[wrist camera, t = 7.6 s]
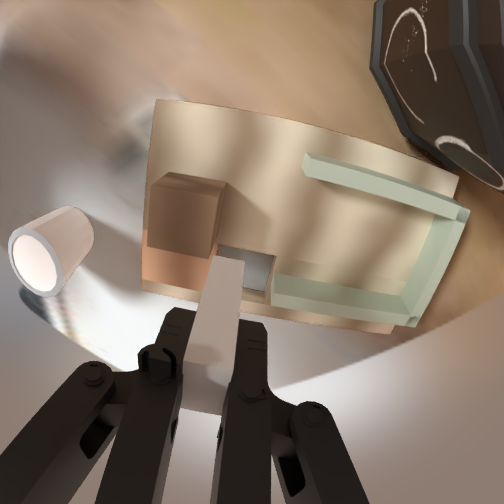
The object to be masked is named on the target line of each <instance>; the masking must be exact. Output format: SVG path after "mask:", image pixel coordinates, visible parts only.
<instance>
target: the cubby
mask: <svg viewBox="0 0 504 504" xmlns="http://www.w3.org/2000/svg"><path fill="white" fill-rule="evenodd" d="M302 169H303V171H304V173H305V175H306V176H308V177H312V178H316V179H320V180H324V181H328V182H332V183H336V184H339V185H343V186H347V187H351V188H354V189H358V190H361V191H365V192H368V193H372V194H375V195H379V196H382V197H386V198H389V199H392V200H395V201H399V202H402V203H405V204H408V205H411V206H414V207H418V208H421V209H424V210H427V211H430V212H433V213H435V217H434V219H433V222H432V224H431V227H430V230H429V232H428V235H427V237H426V239H425V242H424V244H423V247H422V249H421V251H420V254H419V256H418V258H417V261H416V263H415V265H414V267H413V270H412V272H411V274H410V276H409V278H408V280H407V282H406V285H405V287H404V289H403V291H402V293H401V295H400V296H396V295H390V294H385V293H379V292H374V291H368V290H363V289H357V288H352V287H346V286H341V285H336V284H330V283H325V282H320V281H314V280H309V279H304V278H299V277H293V276H288V275H283V274H278V273H274V275H273V278H272V282H271V306H277V307H283V308H288V309H294V310H300V311H306V312H312V313H318V314H324V315H330V316H337V317H343V318H350V319H356V320H363V321H370V322H377V323H385V324H392V325H400V326H408V327H416V325H417V323H418V321H419V320H420V318H421V316H422V314H423V313H424V311H425V309H426V307H427V305H428V303H429V302H430V300H431V298H432V296H433V294H434V292H435V290H436V288H437V286H438V284H439V282H440V280H441V278H442V276H443V274H444V272H445V270H446V268H447V266H448V264H449V261H450V259H451V257H452V255H453V253H454V250H455V248H456V246H457V243H458V241H459V239H460V236H461V234H462V231H463V229H464V226H465V224H466V221H467V219H468V216H469V214H470V211H471V210H469V209H468V208H466V207H465V206H463V205H462V204H460V203H459V202H457V201H456V200H454V199H453V198H451V197H448V196H445V195H443V194H440V193H438V192H435V191H432V190H430V189H427V188H424V187H421V186H419V185H416V184H413V183H410V182H407V181H404V180H401V179H398V178H395V177H392V176H389V175H386V174H383V173H380V172H377V171H374V170H370V169H367V168H364V167H360V166H357V165H354V164H350V163H347V162H343V161H339V160H336V159H332V158H328V157H325V156H321V155H317V154H313V153H309V152H305V155H304V160H303V164H302Z"/></svg>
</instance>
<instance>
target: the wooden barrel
mask: <svg viewBox="0 0 504 504" xmlns="http://www.w3.org/2000/svg"><path fill="white" fill-rule="evenodd" d="M369 69H370V71H371V72H372V74H373V76H374V78H375V80H376V82H377V84H378V86H379V88H380V90H381V92H382V94H383V96H384V98H385V100H386V102H387V104H388V106H389V108H390V110H391V112H392V114H393V117H394V119H395V121H396V123H397V126H398V128H399V130H400V132H401V133H402V135H404V136H405V137H407V138H408V139H410V140H411V141H413V142H414V143H416V144H417V145H419V146H420V147H421V148H423V149H424V150H426V151H427V152H428V153H430V154H431V155H433V156H434V157H435V158H437V159H438V160H439V161H441V162H442V163H443V164H445V165H446V166H447V167H449V168H450V169H451V170H452V171H453V170H462V169H463V170H464V171H466V172H467V173H469V174H470V175H471V176H473V177H474V178H476V179H477V180H478V181H480V182H482V183H484V184H486V185H488V186H490V187H492V188H494V189H496V190H497V191H499V192H501V193H503V194H504V0H377V1H376V2H375V3H374V10H373V28H372V43H371V55H370V66H369Z"/></svg>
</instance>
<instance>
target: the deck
mask: <svg viewBox="0 0 504 504" xmlns="http://www.w3.org/2000/svg"><path fill="white" fill-rule="evenodd" d="M305 152H309V153H313V154H317V155H321V156H325V157H328V158H332V159H336V160H339V161H343V162H347V163H350V164H354V165H357V166H360V167H364V168H367V169H370V170H374V171H377V172H380V173H383V174H386V175H389V176H392V177H395V178H398V179H401V180H404V181H407V182H410V183H413V184H416V185H419V186H421V187H424V188H427V189H430V190H432V191H435V192H438V193H440V194H443V195H445V196H448V197H451V198H453V195H454V192H455V189H456V186H457V183H458V180H459V176H457V175H455V174H453V173H451V172H449V171H446V170H444V169H442V168H439V167H437V166H435V165H432V164H430V163H427V162H425V161H422V160H420V159H417V158H414V157H412V156H409V155H406V154H404V153H401V152H398V151H396V150H393V149H390V148H387V147H384V146H381V145H378V144H375V143H372V142H369V141H366V140H363V139H360V138H356V137H353V136H350V135H347V134H343V133H340V132H336V131H333V130H329V129H325V128H322V127H318V126H314V125H310V124H306V123H302V122H298V121H294V120H290V119H285V118H281V117H276V116H271V115H267V114H262V113H257V112H251V111H246V110H240V109H235V108H229V107H222V106H216V105H209V104H202V103H194V102H186V101H177V100H167V99H156V104H155V110H154V117H153V124H152V132H151V140H150V148H149V157H148V166H147V177H146V188H145V201H144V217H143V238H142V290H143V291H147V292H152V293H156V294H160V295H164V296H169V297H173V298H178V299H182V300H187V301H191V302H196V303H199V302H200V299H201V296H202V292H203V289H204V285H205V282H206V279H207V275H208V272H209V269H210V265H211V262H212V259H213V255H216V256H217V251H218V245H219V244H220V245H225V246H230V247H235V248H240V249H245V250H250V251H255V252H260V253H265V254H270V255H274V258H273V262H272V266H271V270H270V273H269V277H268V281H267V285H266V288H265V292H263V291H258V290H252V289H247V288H242V296H241V305H240V312H246V313H251V314H256V315H262V316H267V317H273V318H279V319H285V320H291V321H297V322H303V323H309V324H315V325H322V326H329V327H336V328H343V329H350V330H357V331H365V332H373V333H381V334H389V335H390V334H391V332H392V330H393V328H394V326H395V325H392V324H385V323H377V322H370V321H363V320H356V319H350V318H343V317H337V316H330V315H324V314H318V313H312V312H306V311H300V310H294V309H288V308H283V307H277V306H271V282H272V278H273V275H274V273H278V274H283V275H288V276H293V277H299V278H304V279H309V280H314V281H320V282H325V283H330V284H336V285H341V286H346V287H352V288H357V289H363V290H368V291H374V292H379V293H385V294H390V295H396V296H400V295H401V293H402V291H403V289H404V287H405V285H406V282H407V280H408V278H409V276H410V274H411V272H412V270H413V267H414V265H415V263H416V261H417V258H418V256H419V254H420V251H421V249H422V247H423V244H424V242H425V239H426V237H427V235H428V232H429V230H430V227H431V224H432V222H433V219H434V217H435V213H433V212H430V211H427V210H424V209H421V208H418V207H414V206H411V205H408V204H405V203H402V202H399V201H395V200H392V199H389V198H386V197H382V196H379V195H375V194H372V193H368V192H365V191H361V190H358V189H354V188H351V187H347V186H343V185H339V184H336V183H332V182H328V181H324V180H320V179H316V178H312V177H308V176H306V175H305V173H304V171H303V169H302V164H303V160H304V155H305ZM168 172H174V173H180V174H186V175H192V176H198V177H203V178H209V179H214V180H220V181H225V182H226V187H225V193H224V199H223V204H222V210H221V216H220V222H219V228H218V234H217V238H216V240H215V243H214V246H213V248H212V251H211V254H210V256H209V259H204V258H199V257H194V256H189V255H184V254H180V253H175V252H170V251H165V250H161V249H156V248H151V247H147V232H148V215H149V201H150V189H151V185H152V184H153V183H154V182H156V181H157V180H158V179H160V178H161V177H163V176H164V175H165V174H167V173H168Z"/></svg>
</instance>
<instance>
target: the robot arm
mask: <svg viewBox="0 0 504 504" xmlns="http://www.w3.org/2000/svg"><path fill="white" fill-rule="evenodd" d="M244 269H245V261H242V260H236V259H231V258H226V257H221V256H216V255H213V259H212V262H211V265H210V269H209V272H208V275H207V279H206V282H205V285H204V289H203V292H202V296H201V299H200V302H199V306H198V309H197V312H196V311H191V310H187V309H182V308H177V307H174V308H173V309H172V310H170V311H169V312H168V313H167V314H166V316H165V319H164V321H163V324H162V326H161V329H160V332H159V334H158V336H157V339H156V341H155V344H151V345H147V346H146V347H144V348H142V349H141V350H140V352H139V353H138V365H139V369H137V370H134V371H128V372H112V370H111V368H110V367H109V366H107V365H106V364H105V363H102V362H99V361H89V362H86V363H83V364H82V365H80V366H79V367H78V368H77V369H76V370H75V371H74V372H73V373H72V374H71V375H70V376H69V378H68V379H67V380H66V381H65V382H64V383H63V384H62V385H61V386H60V387H59V388H58V390H57V391H56V392H55V393H54V394H53V395H52V396H51V397H50V398H49V399H48V401H47V402H46V403H45V404H44V405H43V406H42V407H41V408H40V410H39V411H38V412H37V413H36V414H35V415H34V416H33V417H32V419H31V420H30V421H29V422H28V423H27V424H26V426H25V427H24V428H23V429H22V430H21V431H20V433H19V434H18V435H17V436H16V437H15V438H14V440H13V441H12V442H11V443H10V444H9V446H8V447H7V448H6V449H5V450H4V451H3V453H2V454H1V455H0V504H68V503H69V501H70V500H71V499H72V497H73V496H74V494H75V493H76V491H77V490H78V488H79V487H80V486H81V484H82V483H83V481H84V480H85V478H86V477H87V475H88V474H89V472H90V471H91V469H92V468H93V466H94V465H95V464H96V462H97V461H98V459H99V458H100V456H101V455H102V454H103V452H104V451H105V449H106V448H107V446H108V445H109V443H110V442H111V441H112V439H113V438H114V436H115V435H116V437H115V440H114V443H113V446H112V449H111V452H110V455H109V458H108V461H107V464H106V468H105V471H104V474H103V477H102V480H101V484H100V488H99V491H98V494H97V497H96V501H95V504H161V501H162V496H163V492H164V486H165V481H166V476H167V472H168V467H169V462H170V456H171V452H172V448H173V443H174V438H175V434H176V429H177V424H178V414H179V410H180V407H181V408H184V409H189V410H194V411H199V412H204V413H210V414H216V415H221V416H222V417H221V424H220V427H219V431H218V435H217V438H218V442H217V451H216V458H215V466H214V474H213V482H212V490H211V491H212V492H211V499H210V504H271V454H272V457H273V460H274V464H275V468H276V471H277V475H278V478H279V482H280V485H281V488H282V492H283V495H284V499H285V502H286V504H369V501H368V499H367V497H366V494H365V492H364V489H363V487H362V485H361V482H360V480H359V478H358V475H357V473H356V471H355V468H354V466H353V463H352V461H351V459H350V456H349V454H348V452H347V449H346V447H345V445H344V442H343V440H342V438H341V436H340V433H339V431H338V428H337V426H336V424H335V421H334V419H333V417H332V414H331V413H330V412H329V410H328V409H327V408H326V407H325V406H323V405H322V404H319V403H317V402H310V401H306V402H303V403H300V404H299V405H298V406H296V405H293V404H291V403H288V402H285V401H283V400H281V399H279V398H278V397H276V396H275V395H274V394H273V393H272V391H271V390H270V388H269V386H268V381H267V331H266V329H265V327H264V325H263V324H262V323H260V322H254V321H248V320H242V319H239V314H240V305H241V296H242V287H243V278H244ZM116 433H117V434H116Z"/></svg>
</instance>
